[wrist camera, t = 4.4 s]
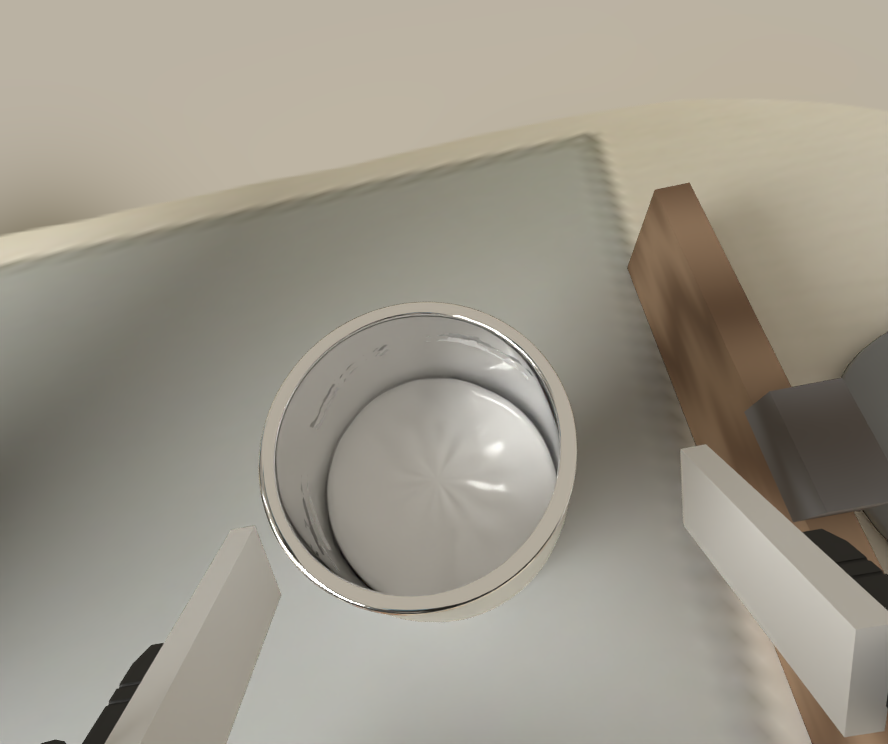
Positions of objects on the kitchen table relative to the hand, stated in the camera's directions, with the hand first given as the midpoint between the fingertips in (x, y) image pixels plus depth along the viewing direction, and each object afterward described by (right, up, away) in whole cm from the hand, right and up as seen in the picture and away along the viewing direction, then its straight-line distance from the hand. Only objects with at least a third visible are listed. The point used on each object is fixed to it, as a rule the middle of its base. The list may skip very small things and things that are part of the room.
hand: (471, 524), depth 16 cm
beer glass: (0, -3, +8) cm, 9 cm away
